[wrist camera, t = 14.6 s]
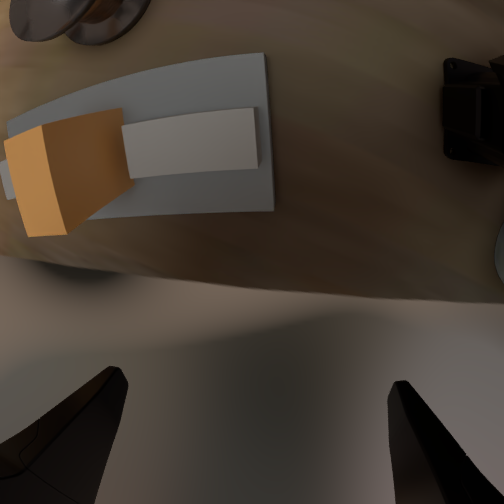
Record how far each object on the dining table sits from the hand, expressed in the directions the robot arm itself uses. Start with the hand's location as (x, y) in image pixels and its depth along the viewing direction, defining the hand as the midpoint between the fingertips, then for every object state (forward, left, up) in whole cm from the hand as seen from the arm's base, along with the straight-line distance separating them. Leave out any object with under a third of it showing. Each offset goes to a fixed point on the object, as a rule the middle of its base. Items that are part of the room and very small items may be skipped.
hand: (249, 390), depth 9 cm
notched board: (+10, -6, -12) cm, 17 cm away
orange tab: (+10, -6, -11) cm, 16 cm away
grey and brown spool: (+10, -17, -12) cm, 23 cm away
